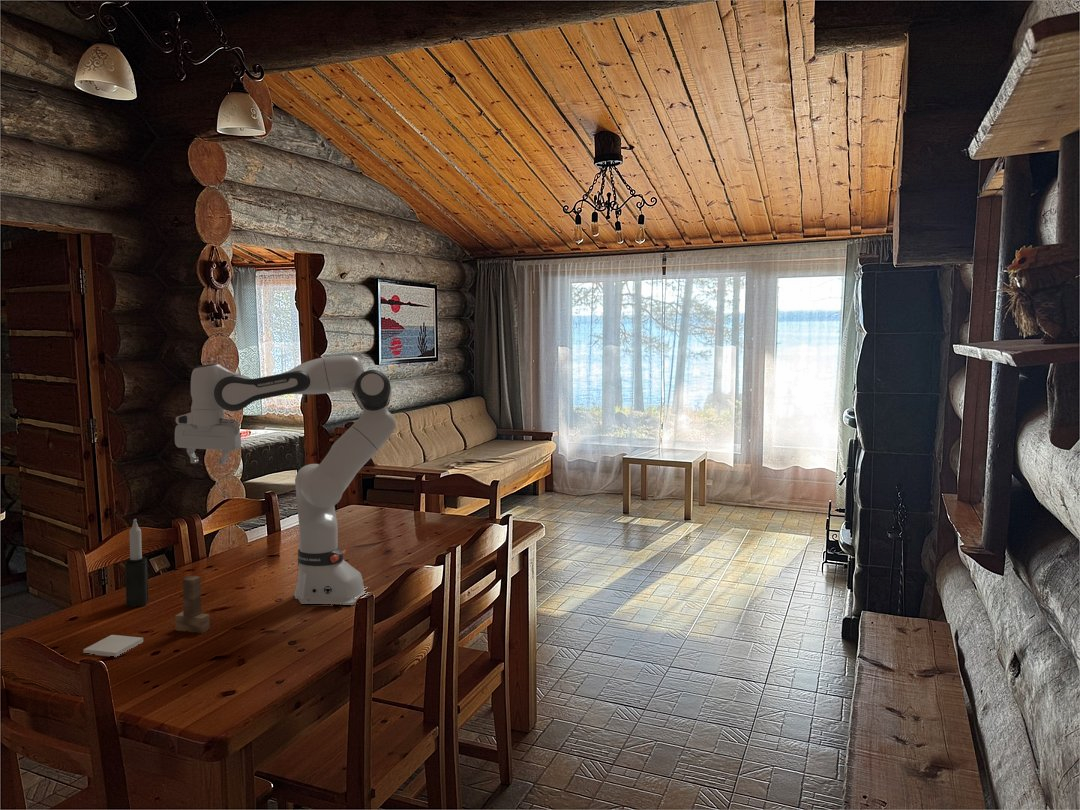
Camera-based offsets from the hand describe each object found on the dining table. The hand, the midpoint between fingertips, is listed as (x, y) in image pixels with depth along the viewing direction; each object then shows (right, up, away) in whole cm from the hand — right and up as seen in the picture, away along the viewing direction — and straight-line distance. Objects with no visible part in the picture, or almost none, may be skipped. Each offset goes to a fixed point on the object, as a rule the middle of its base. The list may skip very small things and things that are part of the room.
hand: (208, 463), depth 214 cm
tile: (-5, -42, -33) cm, 53 cm away
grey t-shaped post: (+8, -42, -26) cm, 50 cm away
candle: (-16, -40, -9) cm, 44 cm away
